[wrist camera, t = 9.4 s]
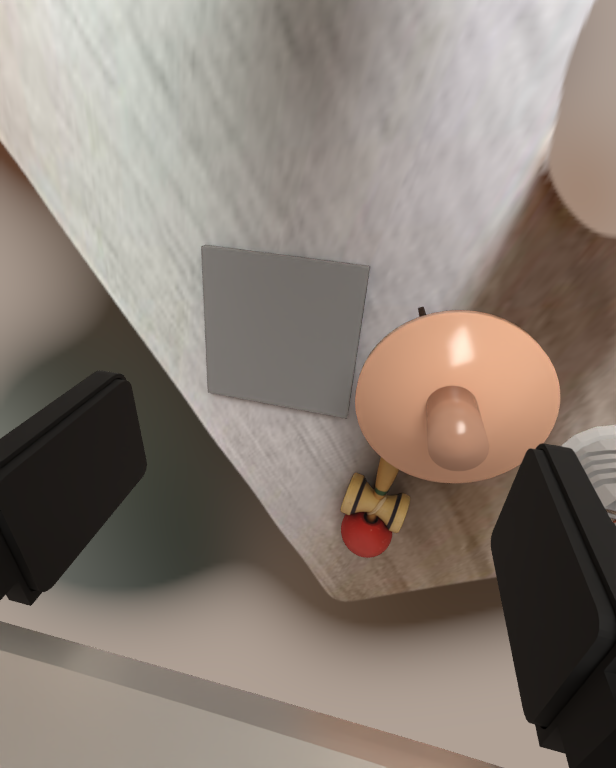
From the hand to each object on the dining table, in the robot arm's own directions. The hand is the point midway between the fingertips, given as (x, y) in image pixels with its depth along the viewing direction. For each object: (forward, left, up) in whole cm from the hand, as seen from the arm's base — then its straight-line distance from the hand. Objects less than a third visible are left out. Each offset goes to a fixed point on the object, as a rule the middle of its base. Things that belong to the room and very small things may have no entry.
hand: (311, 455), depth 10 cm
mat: (+10, -9, -30) cm, 33 cm away
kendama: (+25, +4, -31) cm, 40 cm away
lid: (+9, +7, -20) cm, 23 cm away
